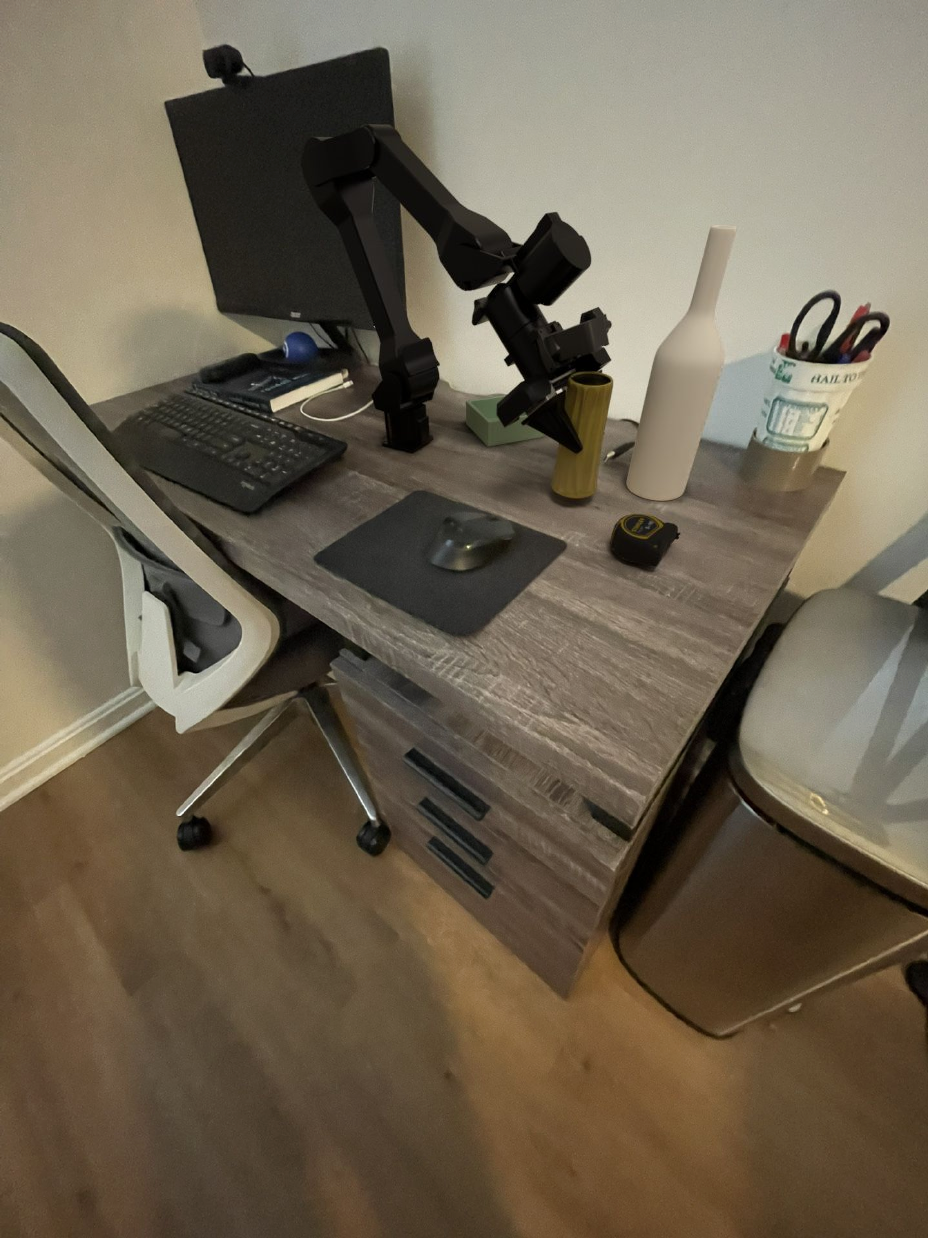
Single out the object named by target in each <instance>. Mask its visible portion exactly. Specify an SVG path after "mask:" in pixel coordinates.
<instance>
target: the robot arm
mask: <svg viewBox="0 0 928 1238" xmlns="http://www.w3.org/2000/svg"><path fill="white" fill-rule="evenodd" d="M300 169H301V174H302V177H303V180H304V182H305V184H306V186H307V188H308V190H309V192H310V195H311V196H312V199H313V200H314V202H315V204H316V207H317V208H318V210H320V212H322V213H323V214H324V216H325V217H326V218H328V220H329V221H330V222H331V223H332V224H333V225H334V226H335V227H336V229H337V230H338V233H339V235H340V238H341V240H342V243H343V246H344V249H345V251H346V254H347V257H348V260H349V262H350V264H351V267H352V270H353V273H354V275H355V278H356V281H357V284H358V286H359V288H360V291H361V294H362V297H363V299H364V302H365V305H366V307H367V310H368V313H369V316H370V318H371V320H372V323H373V327H374V329H375V331H376V334H377V337H378V339H379V353H378V363H377V366H378V370H379V374H380V378H381V381H380V382H379V384H378V385H377V386H376V388H375V389H374V390H373V392H372V393H371V395H370V397H371V400H372V403H373V406H374V408H375V410H377V411H380V412H382V413H383V419H384V427H385V435H386V438H385V439H383V440H381V441H380V445H381V446H385V447H387V448H392V449H395V450H400V451H404V452H408V453H415V452H417V451H418V450H420V449H421V448H422V447H424V446H425V445H427V444H428V443H429V442H431V441H433V440H434V435H433V434H431V433H430V431H431V429H430V418H429V417H430V416H429V414H427V402H430V401H432V400H433V398H434V395H435V390H436V389H437V387H438V384H439V381H440V371H439V367H440V366H441V364H440V361H439V360H438V359H437V356H436V354H435V350H434V346H433V342H432V340H431V338H430V337H428V336H426V337H423V338H421V337H420V336H419V335H418V334H417V333H416V332H415V331H414V330H413V328H412V326H411V322H410V321H409V317H408V315H407V312H406V309H405V306H404V303H403V301H402V297H401V294H400V291H399V289H398V287H397V283H396V280H395V277H394V274H393V271H392V268H391V266H390V265H391V264H390V263H389V260H388V257H387V253H386V251H385V248H384V245H383V243H382V239H381V236H380V234H379V231H378V228H377V225H376V222H375V220H374V219H375V218H374V215H373V208H374V207H373V206H374V198H375V197H374V195H375V185H374V181H373V179H375V178H376V179H377V180H378V181H379V182H380V183H381V184H382V185H383V186H384V187H385V188H386V190H387V191H388V192H389V193H390V194H391V195H392V196H393V197H394V198H395V199H396V201H398V203H399V204H400V205H401V206H402V207H403V208H404V209H405V210H406V212H407V213H408V214H409V215H410V216H411V217H412V219H414V220H415V221H416V223H417V224H418V225H419V226H420V227H421V228H422V229H423V231H425V233H427V234H428V235H429V237H430V238H431V240H432V241H433V242H434V244H435V247H436V252H437V256H438V259H439V261H440V264H441V266H443V268H444V269H445V271H446V272H447V274H448V276H449V277H450V279H451V280H452V282H453V283H454V284H455V286H456V287H457V288H458V289H460V290H461V291H464V292H472V291H476V290H480V289H483V288H487V287H491V286H493V288H492V289H491V290H490V292H489V293H488V294H487V295H486V296H483V297H479V298H476V299H474V300H473V311H472V314H471V325H472V326H474V327H475V326H478V325H482V324H485V323H487V322H489V324H490V325H491V327H492V329H493V331H494V333H495V334H496V336H497V338H498V339H499V341H500V342H501V344H502V346H503V347H504V349H505V350H506V352H507V354H508V355H507V356H505V357H504V358H503V361H504V363H505V365H506V366H507V367H511V366H513V365H515V367H516V369H517V371H518V372H519V374H520V376H521V377H522V379H523V380H522V381H520V382H519V383H518V384H517V385H516V386H514V388H512V389H511V390H510V391H509V392H508V393H507V394H505V395H506V396H505V397H504V398H503V399H502V400H501V401H500V402H498V403H497V410H496V415H497V417H498V419H499V420H500V422H501V423H502V425H503V427H504V428H506V427H508V426H510V425H511V424H513V423H515V422H517V421H518V420H519V419H520V415H522V414H523V413H524V412H525V413H526V415H527V416H528V417H527V418H526V419H524V420H523V421H522V422H521V424H522V425H523V426H524V425H528V426H530V427H532V428H533V429H535V430H537V431H539V432H541V433H543V434H544V436H546V437H548V438H549V439H551V440H553V441H554V442H556V443H558V445H559V444H561V445H562V446H564V447H566V448H567V449H569V450H570V451H572V452H573V453H575V454H578V453H579V452H581V451H582V450H583V447H582V444H581V442H580V439H579V437H578V435H577V433H576V431H575V429H574V427H573V424H572V422H571V420H570V418H569V416H568V414H567V412H566V410H565V400H566V392H567V385H568V378H569V376H570V375H572V374H574V373H578V372H599V373H603V368H604V367H605V366H607V365H608V364H609V363H610V362H611V361H612V358H611V356H610V354H609V353H608V351H607V349H606V347H608V346H609V345H610V340H609V336H608V333H609V331H610V329H611V328H612V327H613V323H612V321H611V320H609V319H608V316H607V313H604V312H603V311H602V309H601V308H600V307H599V306H597V307H594V308H592V309H590V310H587V311H584V312H582V313H581V314H580V318H579V323H578V324H575V325H572V326H570V327H567V328H565V329H564V328H563V326H562V323H560V322H559V321H557V320H552V321H550V322H548V320H547V318H546V316H545V314H544V313H543V311H542V309H541V308H540V306H539V305H542V306H545V307H551V306H553V305H554V304H555V303H556V302H557V301H558V300H559V299H560V298H561V297H562V296H563V295H564V293H566V292H567V291H568V290H569V289H570V287H571V286H573V285H574V283H576V281H577V280H579V278H580V277H581V276H583V274H584V273H585V272H586V271H588V269H589V268H590V267H591V265H592V254H591V250H590V247H589V245H588V242H587V240H586V239H585V238H584V236H583V235H580V233H578V231H577V230H576V229H575V228H574V227H573V226H571V224H569V223H568V222H566V221H564V220H562V218H561V216H560V214H559V212H558V211H551V212H546V213H544V215H543V216H542V217H541V219H540V220H539V221H538V222H537V224H536V227H535V229H534V230H533V232H532V233H531V234H530V235H529V236H528V237H527V239H526V240H525V241H524V243H519V242H515V241H513V240H512V238H511V237H510V235H509V233H508V232H507V231H506V230H505V229H503V228H502V227H500V226H499V225H498V224H497V223H495V222H494V221H493V220H491V219H489V218H488V217H487V216H484V215H483V214H480V213H478V212H476V211H473V210H471V209H469V208H467V206H464V204H462V203H461V202H459V200H458V199H457V198H456V197H455V196H454V195H453V193H451V191H450V190H449V189H448V188H447V187H446V186H445V185H444V184H443V183H442V181H440V180H439V178H438V177H437V176H436V175H435V174H434V173H433V172H432V171H431V169H430V168H428V167H427V166H426V164H425V163H424V162H423V161H422V160H421V159H420V157H418V155H416V153H415V152H414V151H413V150H412V149H411V148H410V147H409V146H408V144H406V142H405V141H403V138H402V136H401V134H400V132H399V131H398V130H397V129H396V128H395V127H394V126H392V125H391V124H378V123H377V124H375V123H371V124H370V123H368V124H367V123H364V124H362V125H361V126H360V127H356V129H353V130H351V131H349V132H346V133H343V134H339V135H336V136H311V137H310V138H307V140H306V141H305V143H304V145H303V150H302V153H301V156H300ZM510 274H512V276H510V278H509V279H508V280H507V281H506V282H504V281H505V280H506V279H507V278H508V276H509V275H510ZM560 390H561V391H560ZM558 391H560V392H558ZM425 403H426V404H425Z"/></svg>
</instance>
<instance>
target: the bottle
mask: <svg viewBox="0 0 928 1238" xmlns="http://www.w3.org/2000/svg"><path fill="white" fill-rule="evenodd" d="M737 229H738V227H737V226H736V225H729V224H715V225H711V226H710V228H709V231H708V235H707V238H706V242H705V247H704V251H703V255H702V258H701V262H700V267H699V271H698V275H697V278H696V282H695V286H694V290H693V294H692V297H691V301H690V304H689V307H688V310H687V312H686V313H685V314H684V315H683V317H682V318H681V319H680V321H678V323H677V324H676V325H675V326H674V327H673V328H672V330H671V331H670V332H669V333H668V334H667V336H666V337H665V339H664V340H663V341H662V342H661V344H660V345H659V346H658V348H657V349H656V351H655V354H654V357H653V361H652V365H651V369H650V373H649V378H648V383H647V387H646V391H645V396H644V401H643V405H642V410H641V414H640V420H639V423H638V427H637V432H636V437H635V442H634V446H633V450H632V455H631V460H630V463H629V468H628V472H627V477H626V482H625V483H626V488H627V489H628V491H630V492H631V493H632V494H634V495H635V496H637V497H640V498H642V499H646V500H649V501H650V500H651V501H658V502H664V501H665V502H666V501H667V502H668V501H672V500H677V499H678V498H680V497H681V496H682V495H683V494H684V493H685V491H686V487H687V484H688V481H689V477H690V475H691V471H692V468H693V464H694V461H695V458H696V455H697V452H698V449H699V445H700V442H701V439H702V436H703V432H704V429H705V426H706V423H707V420H708V416H709V413H710V410H711V408H712V405H713V404H712V403H713V400H714V397H715V394H716V391H717V388H718V385H719V381H720V378H721V375H722V371H723V367H724V364H725V350H724V345H723V341H722V337H721V334H720V333H721V332H720V330H719V327H718V324H717V323H718V322H717V318H716V307H717V302H718V298H719V295H720V293H721V292H720V291H721V289H722V285H723V284H722V283H723V281H724V277H725V273H726V269H727V266H728V263H729V259H730V256H731V251H732V248H733V244H734V241H735V237H736V233H737Z"/></svg>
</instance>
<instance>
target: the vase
mask: <svg viewBox="0 0 928 1238" xmlns="http://www.w3.org/2000/svg"><path fill="white" fill-rule="evenodd" d="M613 389H614V379H613V377H612V376H611V375H609V374H607V373H604V372H602V373H599V372H578V373H574V374H572V375H570V376H569V378H568V385H567V392H566V400H565V410H566V412H567V414H568V416H569V418H570V420H571V422H572V424H573V427H574V429H575V431H576V433H577V435H578V437H579V439H580V442H581V444H582V447H583V450H582V451H581V452H579V453H578V454H575V453H573V452H572V451H570V450H569V449H567V448H566V447H564V446H562V445H561V444H559V443H558V447H557V453H556V457H555V464H554V469H553V476H552V480H551V482H550V486H551V489H552V490H553V491H554V492H555V493H556V494H558V495H560V496H562V497H564V498H569V499H583V498H584V499H585V498H589V497H591V496H592V495H594V494H595V493H596V491H597V488H598V476H599V469H600V463H601V455H602V448H603V447H602V446H603V441H604V436H605V430H606V424H607V420H608V415H609V410H610V404H611V400H612V396H613Z"/></svg>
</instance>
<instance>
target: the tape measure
mask: <svg viewBox="0 0 928 1238" xmlns="http://www.w3.org/2000/svg"><path fill="white" fill-rule="evenodd" d="M611 532H612V533H611V538H610V543H611V544H610V546H611V549H612V550H613V552H614V553H615V554H616V555H617V556H618V557H620V558H621V559H623V560H624V561H626V562H630V563H633V564H634V563H635V564H639V565H643V566H647V567H653V568H654V567H657V566H658V565H659V564H660V563H661V561H662V559H663V557H664V555H665V554H666V553H667V551H668V550H669V549H670V548H671V546H672V544H673V543H674V542H675V540H679V539H680V536H681V534H682V533H681V532H679V527H678V526H677V524H675V523H673V522H668V521H667V522H664V521H662V520H661V519H659V518H658V517H656V516H653V515H650V514H644V513H631V514H627V515H624V516H622V517H621V518H619V520H618V521H616V523H615V524H614V526H613V529H612V531H611Z"/></svg>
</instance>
